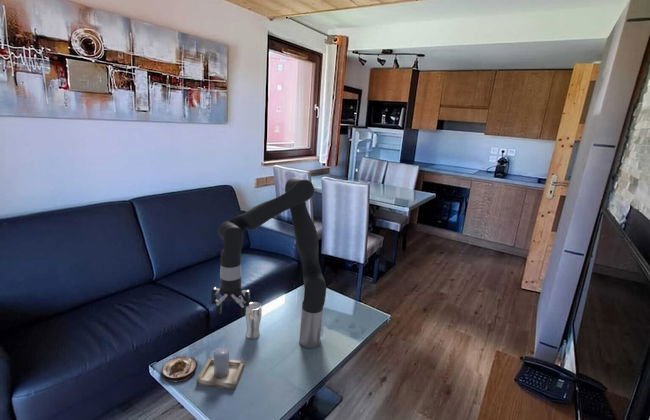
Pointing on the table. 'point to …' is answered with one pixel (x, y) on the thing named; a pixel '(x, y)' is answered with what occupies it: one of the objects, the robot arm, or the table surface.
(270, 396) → the table surface
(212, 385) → the birch tray
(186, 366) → the stuffed round slice
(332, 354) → the table surface
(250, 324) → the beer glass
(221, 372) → the grey rounded cylinder
